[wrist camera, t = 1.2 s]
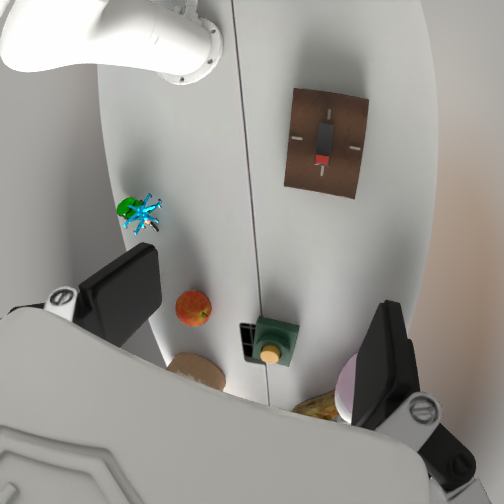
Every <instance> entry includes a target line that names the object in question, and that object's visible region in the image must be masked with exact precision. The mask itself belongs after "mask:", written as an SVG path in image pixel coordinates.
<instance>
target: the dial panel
mask: <svg viewBox="0 0 504 504" xmlns="http://www.w3.org/2000/svg"><path fill="white" fill-rule="evenodd" d="M368 105H369V99H364V98H359V97H354V96H349V95H343V94H337V93H331V92H324V91H317V90H309V89H300V88H294V90H293V101H292V112H291V122H290V133H289V142H288V152H287V161H286V171H285V180H284V186H285V187H291V188H297V189H303V190H308V191H314V192H319V193H325V194H330V195H335V196H340V197H345V198H350V199H355V194H356V189H357V183H358V178H359V172H360V166H361V159H362V153H363V146H364V139H365V131H366V123H367V114H368ZM319 123H325V124H332V125H334V126H335V129H334V137H333V145H332V153H331V160H330V165H329V167H328V166H323V165H317V164H314V159H315V151H316V142H317V134H318V125H319Z"/></svg>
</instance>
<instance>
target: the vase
mask: <svg viewBox="0 0 504 504" xmlns="http://www.w3.org/2000/svg"><path fill="white" fill-rule="evenodd" d="M166 370H168V371H170V372H172V373H175V374H177V375H180V376H182V377H185V378H187V379H190V380H192V381H195V382H197V383H200V384H203V385H205V386H208V387H211V388H214V389H216V390H219V391H223V389H224V387H225V384H226V380H225V376H224V374H223V373H222V371H221V370H220V369H219V368H218V367H217V366H216V365H215V364H214V363H212V362H211V361H209V360H208V359H206V358H204V357H202V356H200V355H197V354H193V353H180V354H178V355H176V356H175V358H174V359H173V360H172V362H171V363H170V364H169V366H168V367H167V369H166Z"/></svg>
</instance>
